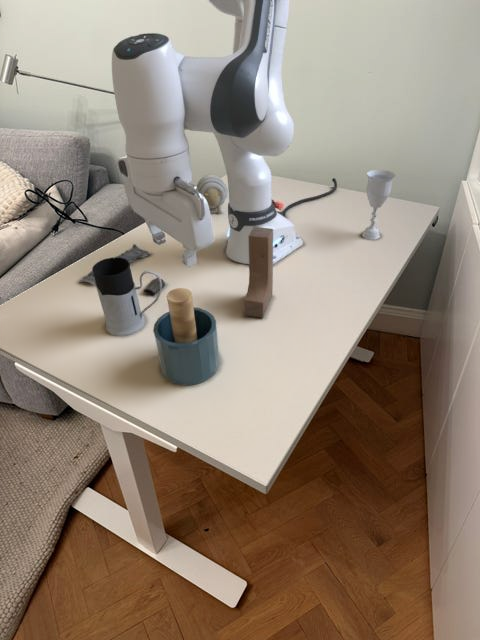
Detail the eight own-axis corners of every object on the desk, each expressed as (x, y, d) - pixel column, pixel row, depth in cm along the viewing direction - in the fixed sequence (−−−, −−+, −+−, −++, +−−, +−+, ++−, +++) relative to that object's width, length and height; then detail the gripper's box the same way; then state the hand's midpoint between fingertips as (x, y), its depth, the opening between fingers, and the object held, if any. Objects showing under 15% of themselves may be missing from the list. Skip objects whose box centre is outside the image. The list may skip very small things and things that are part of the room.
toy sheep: (199, 220, 139) (196, 187, 132) (194, 200, 152) (191, 168, 145) (232, 217, 140) (230, 183, 133) (224, 197, 153) (222, 165, 146)
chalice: (356, 238, 126) (364, 177, 114) (360, 228, 131) (369, 168, 119) (382, 242, 123) (393, 180, 112) (385, 232, 128) (396, 171, 117)
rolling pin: (192, 350, 89) (183, 285, 79) (204, 361, 86) (196, 295, 76) (173, 359, 87) (162, 294, 77) (185, 371, 84) (175, 305, 74)
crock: (198, 337, 94) (193, 299, 87) (230, 366, 86) (228, 327, 80) (151, 361, 88) (142, 323, 82) (181, 394, 81) (174, 355, 75)
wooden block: (263, 318, 98) (263, 248, 87) (244, 315, 99) (241, 245, 88) (272, 296, 105) (273, 228, 93) (254, 293, 106) (253, 226, 95)
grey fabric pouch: (92, 289, 110) (90, 282, 109) (75, 280, 113) (73, 274, 112) (151, 255, 123) (150, 248, 122) (135, 248, 126) (133, 242, 125)
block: (143, 294, 107) (142, 288, 106) (154, 281, 112) (153, 275, 111) (157, 296, 107) (155, 290, 105) (167, 283, 111) (166, 277, 110)
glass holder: (111, 311, 102) (96, 256, 93) (171, 311, 101) (162, 255, 92) (100, 336, 95) (83, 278, 86) (165, 335, 95) (154, 277, 85)
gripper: (220, 182, 58) (227, 271, 67) (146, 148, 71) (160, 226, 79) (180, 196, 55) (192, 286, 64) (110, 158, 68) (129, 237, 77)
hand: (174, 252), depth 72 cm, fingers open, 8 cm apart
